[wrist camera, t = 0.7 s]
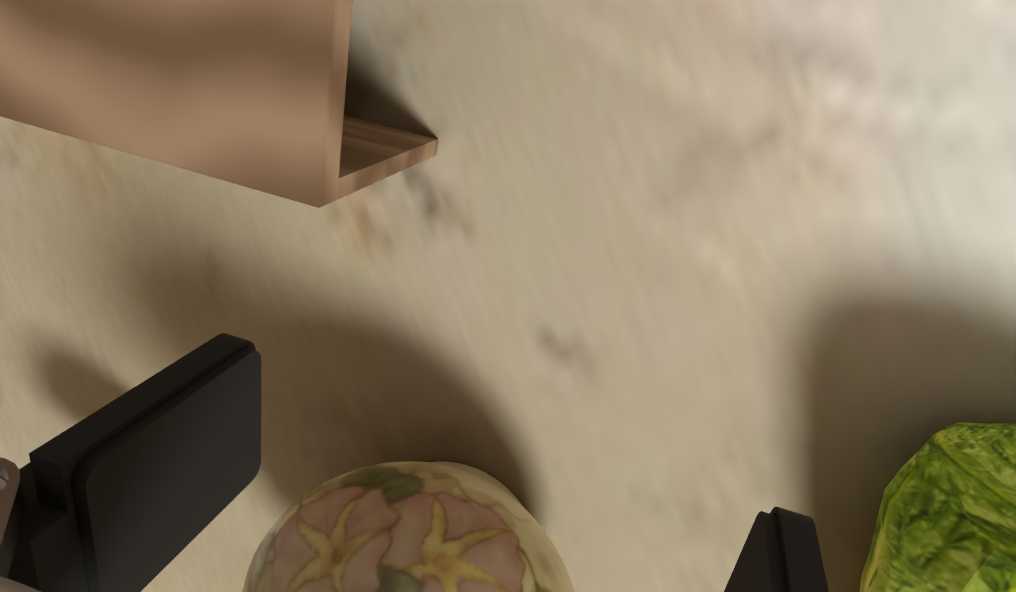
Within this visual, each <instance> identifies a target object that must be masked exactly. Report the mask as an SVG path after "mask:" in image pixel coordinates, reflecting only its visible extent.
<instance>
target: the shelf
mask: <svg viewBox="0 0 1016 592" xmlns="http://www.w3.org/2000/svg"><path fill="white" fill-rule="evenodd" d="M352 1H353V0H0V116H1V117H5V118H8V119H12V120H15V121H19V122H22V123H26V124H29V125H33V126H36V127H40V128H43V129H47V130H50V131H54V132H57V133H61V134H64V135H68V136H71V137H75V138H78V139H82V140H85V141H89V142H92V143H96V144H99V145H102V146H106V147H109V148H113V149H116V150H120V151H123V152H127V153H130V154H134V155H137V156H141V157H144V158H148V159H151V160H155V161H158V162H162V163H165V164H169V165H172V166H176V167H179V168H183V169H186V170H190V171H193V172H197V173H200V174H203V175H207V176H210V177H214V178H217V179H221V180H224V181H228V182H231V183H235V184H238V185H242V186H245V187H249V188H252V189H256V190H259V191H263V192H266V193H270V194H273V195H277V196H280V197H284V198H287V199H291V200H294V201H298V202H301V203H304V204H308V205H311V206H315V207H318V208H320V207H322V206H324V205H326V204H329V203H331V202H333V201H335V200H337V199H340V198H342V197H344V196H346V195H349V194H351V193H353V192H355V191H357V190H360V189H362V188H364V187H366V186H368V185H371V184H373V183H375V182H377V181H379V180H382V179H384V178H386V177H388V176H391V175H393V174H395V173H397V172H399V171H402V170H404V169H406V168H408V167H410V166H413V165H415V164H417V163H419V162H422V161H424V160H426V159H428V158H430V157H433V156H435V155H436V151H437V144H438V139H436V138H433V137H429V136H425V135H421V134H417V133H413V132H409V131H405V130H401V129H398V128H394V127H390V126H386V125H382V124H378V123H374V122H370V121H366V120H362V119H359V118H355V117H351V116H347V115H344V103H345V90H346V77H347V65H348V52H349V39H350V26H351V13H352Z"/></svg>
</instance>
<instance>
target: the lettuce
mask: <svg viewBox="0 0 1016 592" xmlns="http://www.w3.org/2000/svg"><path fill="white" fill-rule="evenodd" d="M860 592H1016V424H996V423H969V422H956V423H954V424H952V425H950V426H948V427H946V428H944V429H942V430H940V431H938V432H936V433H934V434H933V435H932V436H931V437H930V438H929V439H928V440H927V442H926V443H925V444H924V445H923V446H922V447H921V448H920V449H919V450H918V451H917V452H916V453H915V454H914V455H913V456H912V457H911V458H910V459H909V460H908V461H907V462H906V463H905V464H904V465H903V466H902V467H901V469H900V470H899V471H898V473H897V474H896V475H895V476H894V478H893V479H892V480H891V482H890V483H889V484H888V485H887V487H886V488H885V490H884V494H883V498H882V501H881V505H880V509H879V512H878V516H877V520H876V524H875V529H874V534H873V538H872V543H871V548H870V551H869V554H868V557H867V560H866V563H865V566H864V569H863V572H862V575H861V584H860Z"/></svg>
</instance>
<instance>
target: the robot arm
mask: <svg viewBox="0 0 1016 592" xmlns="http://www.w3.org/2000/svg"><path fill="white" fill-rule="evenodd" d="M29 456H30V461H31V462H30V463H28V464H27V465H25V466H24V467H22V468H21V469H18V467H17V466H16V464H15V463H13V462H11V461H9V460H7V459H5V458H0V592H141V591H142V590H143V589H144V588H145V587H146V586H147V585H148V584H149V583H150V582H151V581H152V580H153V579H154V578H155V577H156V576H157V575H158V574H159V573H160V572H161V571H162V570H163V569H164V568H165V567H166V566H167V565H168V564H169V563H170V562H171V561H172V560H173V559H174V558H175V557H176V556H177V555H178V554H179V553H180V552H181V551H182V550H183V549H184V548H185V547H186V546H187V545H188V544H189V543H190V542H191V541H192V540H193V539H194V538H195V537H196V536H197V535H198V534H199V533H200V532H201V531H202V530H203V529H204V528H205V527H206V526H207V525H208V524H209V523H210V522H211V521H212V520H213V519H214V518H215V517H216V516H217V515H218V514H219V513H220V512H221V511H222V510H223V509H224V508H225V507H226V506H227V505H228V504H229V503H230V502H231V501H232V500H233V499H234V498H235V497H236V496H237V495H238V494H239V493H240V492H241V491H242V490H243V489H244V488H246V487H247V486H248V485H249V484H250V483H251V482H252V480H253V479H254V478H255V476H256V475H257V473H258V471H259V468H260V464H261V356H260V354H259V352H257V351H255V346H254V344H253V343H252V342H250V341H248V340H244V339H241V338H238V337H235V336H232V335H229V334H220V335H217V336H216V337H214V338H213V339H211V340H209V341H208V342H206V343H205V344H203V345H201V346H200V347H198V348H197V349H195V350H193V351H192V352H190V353H189V354H187V355H185V356H184V357H182V358H181V359H179V360H177V361H176V362H174V363H173V364H171V365H169V366H168V367H166V368H165V369H163V370H162V371H160V372H158V373H157V374H155V375H154V376H152V377H150V378H149V379H147V380H146V381H144V382H142V383H141V384H139V385H138V386H136V387H134V388H133V389H131V390H130V391H128V392H126V393H125V394H123V395H122V396H120V397H118V398H117V399H115V400H114V401H112V402H110V403H109V404H107V405H106V406H104V407H102V408H101V409H99V410H98V411H96V412H95V413H93V414H91V415H90V416H88V417H87V418H85V419H83V420H82V421H80V422H79V423H77V424H75V425H74V426H72V427H71V428H69V429H67V430H66V431H64V432H63V433H61V434H59V435H58V436H56V437H55V438H53V439H51V440H50V441H48V442H47V443H45V444H43V445H42V446H40V447H39V448H37V449H35V450H34V451H32V452H31V453H29ZM724 592H829V591H828V586H827V582H826V577H825V572H824V567H823V562H822V558H821V553H820V548H819V543H818V539H817V534H816V529H815V524H814V521H813V519H812V518H811V517H808V516H805V515H802V514H798V513H795V512H792V511H789V510H786V509H782V508H779V507H774V508H773V509H772V511H771V512H770V514H769V513H765V512H762V511H761V512H759V513H758V515H757V517H756V519H755V521H754V524H753V526H752V528H751V531H750V533H749V535H748V538H747V540H746V542H745V544H744V547H743V549H742V551H741V554H740V556H739V558H738V561H737V563H736V565H735V568H734V570H733V572H732V574H731V577H730V579H729V581H728V584H727V586H726V588H725V591H724Z"/></svg>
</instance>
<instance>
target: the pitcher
mask: <svg viewBox="0 0 1016 592" xmlns="http://www.w3.org/2000/svg"><path fill="white" fill-rule="evenodd" d="M242 592H574V589H573V586H572V583H571V580H570V577H569V575H568V572H567V570H566V567H565V565H564V563H563V561H562V559H561V557H560V555H559V553H558V551H557V550H556V548H555V546H554V545H553V543H552V541H551V540H550V538H549V537H548V535H547V534H546V533H545V531H544V530H543V529H542V527H541V526H540V525H539V524H538V522H537V521H536V520H535V519H534V518H533V517H532V516H531V514H530V513H529V512H528V511H527V510H526V509H525V508H524V507H523V506H522V504H521V503H520V502H519V500H518V499H517V498H516V497H515V495H514V494H513V493H512V492H511V491H510V490H509V489H508V488H507V487H506V486H504V485H503V484H502V483H501V482H500V481H498V480H497V479H495V478H494V477H492V476H491V475H489V474H487V473H486V472H484V471H482V470H479V469H477V468H475V467H472V466H469V465H465V464H461V463H455V462H447V461H436V462H414V461H405V462H390V463H382V464H375V465H370V466H367V467H363V468H359V469H356V470H353V471H350V472H347V473H344V474H342V475H339V476H337V477H335V478H333V479H331V480H329V481H327V482H325V483H323V484H321V485H319V486H317V487H316V488H314V489H313V490H311V491H310V492H308V493H307V494H306V495H304V496H303V497H302V498H300V499H299V500H298V501H297V502H296V503H294V504H293V505H292V506H291V507H290V508H289V509H288V510H287V511H286V512H285V513H284V514H283V515H282V516H281V517H280V518H279V520H278V521H277V522H276V523H275V524H274V526H273V527H272V528H271V529H270V530H269V532H268V533H267V534H266V536H265V537H264V539H263V540H262V542H261V543H260V545H259V547H258V548H257V550H256V552H255V554H254V556H253V559H252V561H251V564H250V566H249V569H248V572H247V576H246V579H245V583H244V587H243V591H242Z"/></svg>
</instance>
